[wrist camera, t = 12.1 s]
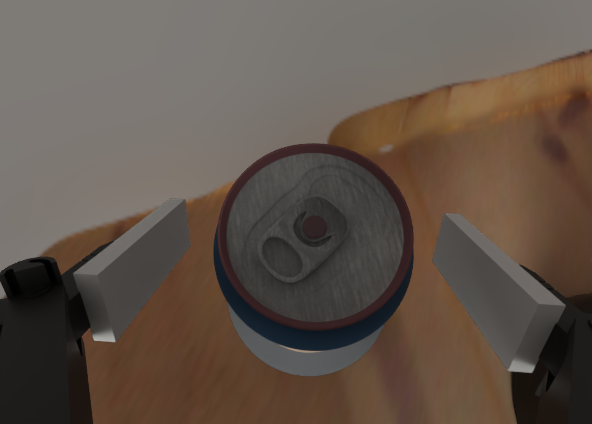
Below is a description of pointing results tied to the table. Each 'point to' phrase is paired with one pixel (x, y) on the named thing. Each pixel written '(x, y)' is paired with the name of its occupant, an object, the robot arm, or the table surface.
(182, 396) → the table surface
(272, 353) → the coaster
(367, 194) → the soda can
